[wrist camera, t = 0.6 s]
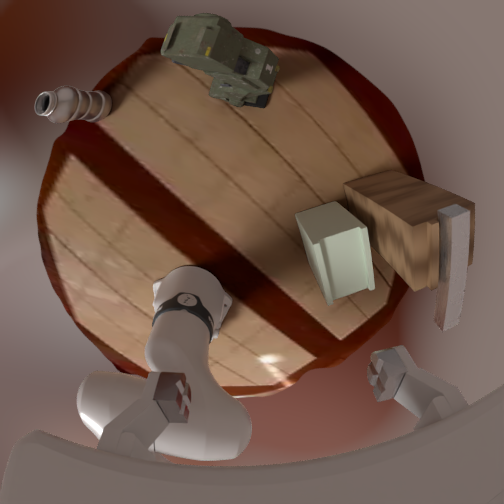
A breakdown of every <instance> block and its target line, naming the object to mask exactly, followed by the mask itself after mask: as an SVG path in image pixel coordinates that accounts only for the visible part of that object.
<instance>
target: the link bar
mask: <svg viewBox="0 0 504 504" xmlns="http://www.w3.org/2000/svg"><path fill="white" fill-rule="evenodd" d="M437 211H438V222H439V277H438V288H437V296H436V307H435V316H434V322H435V323H436V324H437V326H438V327H439V328H440V330H441V331H442V332H444V331H446V330H448V329H450V328H451V327H453V326H455V325H457V324H458V323H459V319H460V314H461V309H462V303H463V297H464V291H465V284H466V275H467V266H468V255H469V237H470V211H469V210H467V209H465V208H463V207H461V206H459V205H457V204H453V205H451V206H448V207H445V208H442V209H440V210H437Z"/></svg>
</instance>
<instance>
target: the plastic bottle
mask: <svg viewBox="0 0 504 504" xmlns="http://www.w3.org/2000/svg"><path fill="white" fill-rule="evenodd" d="M111 107H112V100H111V97H110V95H109V94H107V93H106V92H104V91H93V92H86V91H82V90H79V89H76V88H74V87H72V86H62V87H59V88H57V89H56V90H55V91H53V92H43V93H41V94H40V95H39V96H38V98H37V100H36V102H35V112H36V113H37V114H38V115H43V116H47V117H48V118H49V120H50V121H52V122H54V123H64V122H67V121H71V120H77V119H82V120H86V121H90V122H97V121H100V120H102V119H104V118H105V117H106V116H107V115H108V114H109V112H110V110H111Z"/></svg>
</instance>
